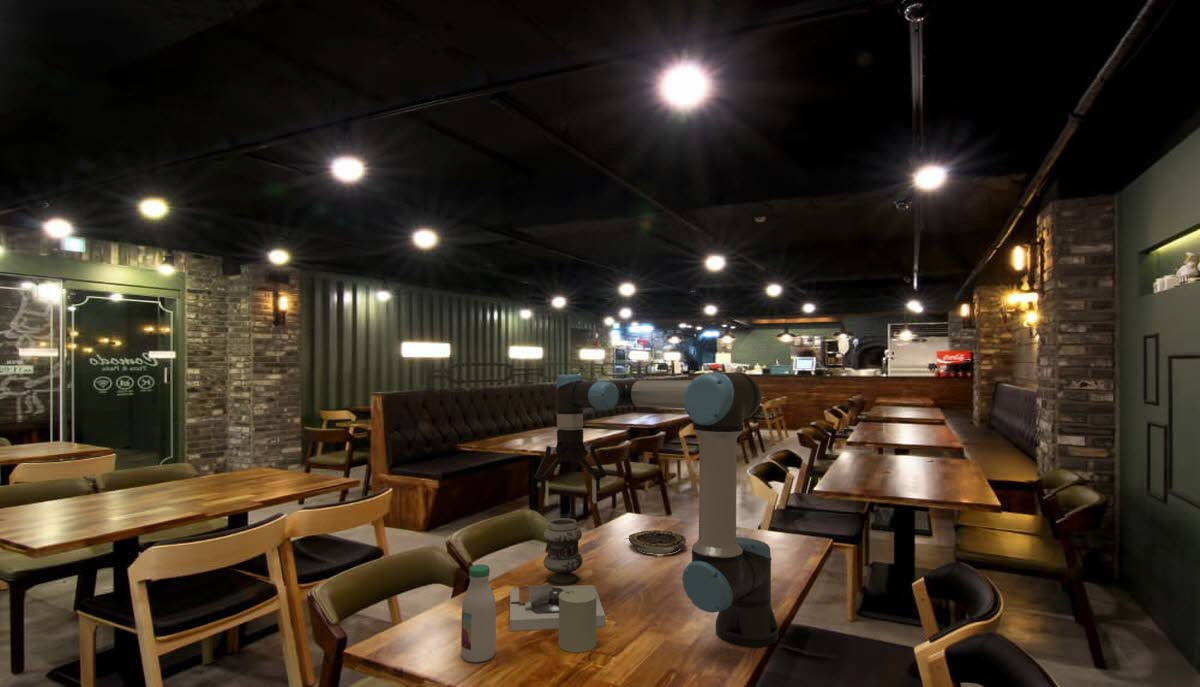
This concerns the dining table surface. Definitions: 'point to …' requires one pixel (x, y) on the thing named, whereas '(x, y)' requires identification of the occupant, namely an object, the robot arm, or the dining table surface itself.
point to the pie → (657, 541)
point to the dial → (541, 598)
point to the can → (577, 620)
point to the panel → (530, 620)
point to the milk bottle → (478, 617)
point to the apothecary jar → (563, 551)
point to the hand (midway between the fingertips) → (570, 503)
